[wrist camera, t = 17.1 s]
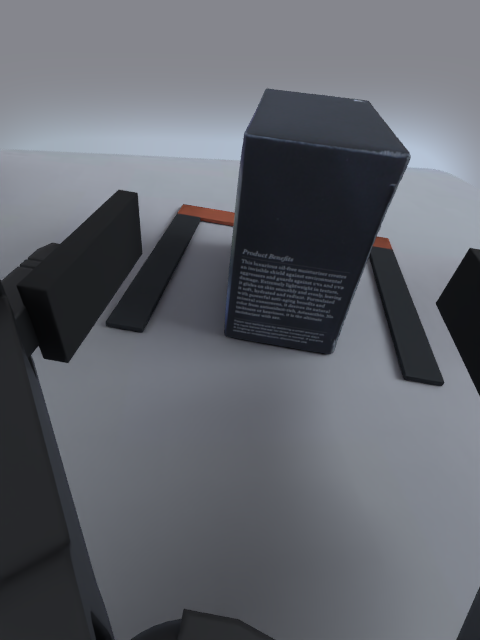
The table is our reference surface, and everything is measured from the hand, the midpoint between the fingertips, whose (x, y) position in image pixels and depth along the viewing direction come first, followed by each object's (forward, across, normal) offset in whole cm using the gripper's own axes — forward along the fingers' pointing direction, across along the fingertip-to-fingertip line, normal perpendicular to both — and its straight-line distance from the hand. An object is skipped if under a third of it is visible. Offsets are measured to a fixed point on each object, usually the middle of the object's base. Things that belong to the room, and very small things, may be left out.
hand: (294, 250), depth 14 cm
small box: (+6, 0, -7) cm, 9 cm away
